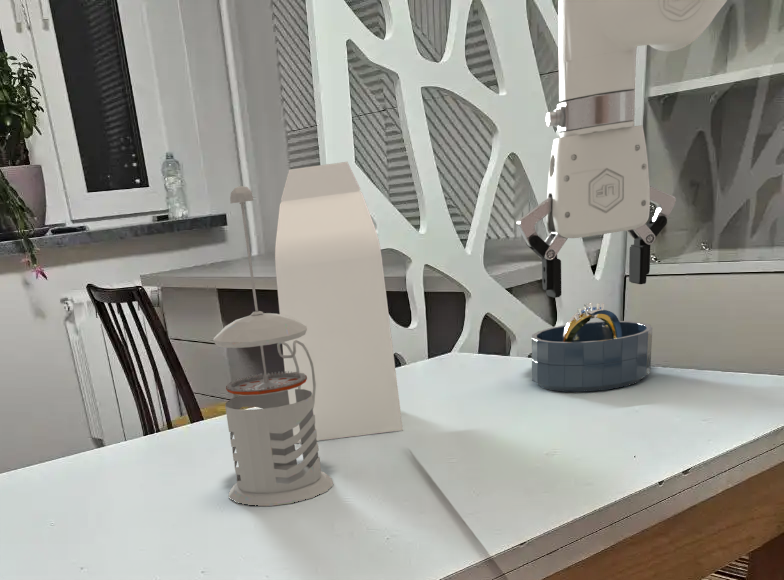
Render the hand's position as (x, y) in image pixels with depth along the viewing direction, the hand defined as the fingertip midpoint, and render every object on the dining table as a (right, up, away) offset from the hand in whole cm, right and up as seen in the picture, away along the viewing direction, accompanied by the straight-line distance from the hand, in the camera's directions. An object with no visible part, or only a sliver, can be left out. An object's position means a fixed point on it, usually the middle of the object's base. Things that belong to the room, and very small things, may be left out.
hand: (595, 289), depth 103 cm
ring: (+1, -8, +4) cm, 10 cm away
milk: (-28, -16, 0) cm, 32 cm away
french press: (-35, -25, -19) cm, 47 cm away
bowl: (+1, -9, +5) cm, 10 cm away
